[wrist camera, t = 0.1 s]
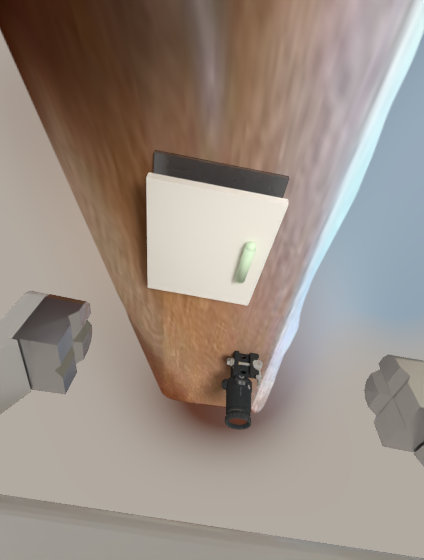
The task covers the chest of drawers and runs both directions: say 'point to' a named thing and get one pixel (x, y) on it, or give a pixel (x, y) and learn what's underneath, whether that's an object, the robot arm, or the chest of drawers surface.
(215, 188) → the panel
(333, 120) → the chest of drawers surface
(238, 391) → the scope
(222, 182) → the stage base
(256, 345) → the chest of drawers surface
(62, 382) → the robot arm
